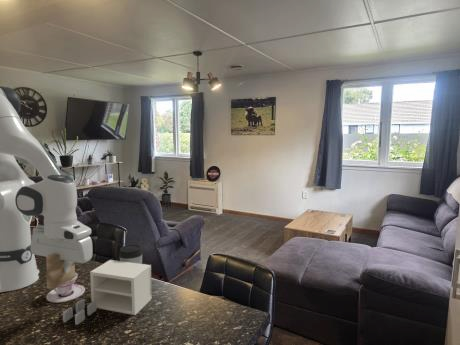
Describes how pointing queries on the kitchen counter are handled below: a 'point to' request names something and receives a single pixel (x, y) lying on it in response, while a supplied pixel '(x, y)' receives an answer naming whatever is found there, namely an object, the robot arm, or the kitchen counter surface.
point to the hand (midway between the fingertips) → (61, 271)
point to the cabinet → (116, 289)
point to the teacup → (66, 291)
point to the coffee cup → (131, 254)
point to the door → (57, 271)
